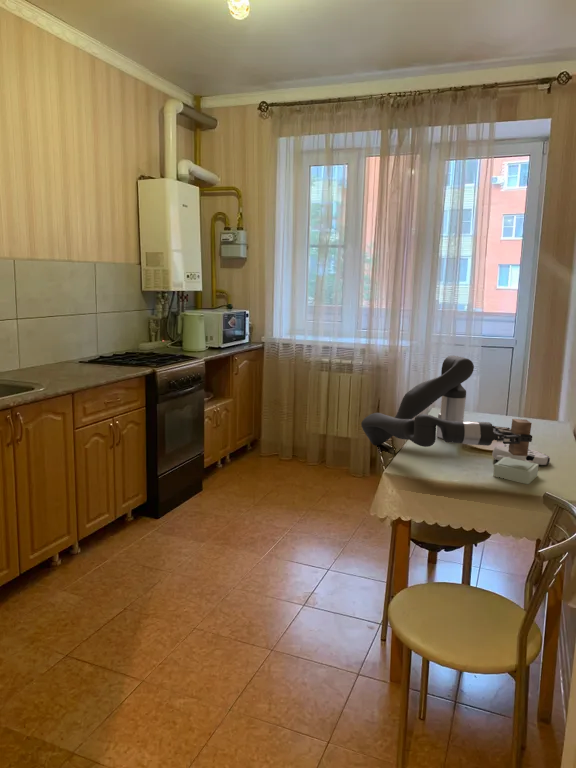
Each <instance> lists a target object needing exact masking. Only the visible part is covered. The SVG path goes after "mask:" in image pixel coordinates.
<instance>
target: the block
mask: <svg viewBox="0 0 576 768" xmlns="http://www.w3.org/2000/svg"><path fill="white" fill-rule="evenodd" d="M511 420H512V421H511V427H510V429H511V432H513V433H515V434H525V435H531V431H532V422H531V421H529V420H527V419H525V418H524V419H523V418H522V419H521V418H512V419H511ZM515 440H516V438H515ZM508 445H509V450H508V451H509V452H510V453H511V454H512V455H517V456H527V454H528V449H529V445H530V442H522V441H520V444H508Z"/></svg>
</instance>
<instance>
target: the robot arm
mask: <svg viewBox="0 0 576 768" xmlns="http://www.w3.org/2000/svg"><path fill="white" fill-rule="evenodd" d="M474 369H475V366H474V362H473V361H472V360H470V359H468V358H466V357H462V356H458V355H448V356H447V357H446V358H445V359H444V360H443V362H442V365H441V373H440V375H439V376H437V377H434V378H432V379H428V380H425V381H423V382H421V383H418V384H417V385H415V386H414V387H413V388H411V389H410V390H409V391H407V392H406V393H405V394H404V396H403V397H402V399H401V402H400V405H399V407H398V411H397V412H396V415H395V416H391V415H387V414H384V413H381V412H374V413H371V414H368V415H367V416H365V418H363V420H362V421H361V428H362V431H363V432H364V433H365V435H366V437H367V438H368V440H369V441H370V443H371V444H372V445H373V446H374V447H375V446H380V445H383V444H385V443H386V442H387V441H389V440H390V439H391V438H392V437H394V438H397V439H400V440H408V441H411V442H412V443H413V444H415V445H417V446H420V447H425V448H428V447H432V446H434V444H435V442H436V439H437V438H439V439H442V440H443V441H444V442H446V443H451V444H463V445H474V446H491V445H492V443H493V441H496V442H497V443H502V444H504V445H505V444H507V445H509V444H520V441H522V442H529V443H531V442H532V441H533V435H532V434H530V435H525V434H515V433H513V432H511V427H508V426H507V427H505V426H498V425H497V426H495V425H493V424H492V422H486V421H485V422H484V421H469V420H468V421H464V420H465V419H464V418H465V409H466V398H467V390H466V389H465V388H464V387H463V386H462V383H464V382H466V381H467V380H468V379H469V378H471V376H472V374H473V373H474V371H475V370H474ZM440 398H441V402H440V411H439V412H440V413H438V415H437V417H436V416H433V415H431V414H428V413H423V412H424V411H425V410H426V409H427V408H429V407H430V406H432V405H433V403H435V402H436V401H438V400H439V399H440ZM420 413H421V414H420ZM515 438H516V440H515Z"/></svg>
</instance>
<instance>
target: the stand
mask: <svg viewBox="0 0 576 768" xmlns="http://www.w3.org/2000/svg"><path fill="white" fill-rule="evenodd" d="M539 465H540V464H535V463H531V462H526V461H521V460H517V459H512V458H507V457H504V458H502V459H501V460H500V461H498V460H497V462H495V463H494V466H493V474H492V475H493V476H492V477H495V476H496V478H499V477H500V478H499V479H503V478H504V480H508V481H512V482H516V483H517V482H518V483H521V484H525V485H529V484H530V483H532V481H534V479H536V478H537V477H538V473H539V472H538V471H539Z"/></svg>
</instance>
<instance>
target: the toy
mask: <svg viewBox="0 0 576 768" xmlns="http://www.w3.org/2000/svg"><path fill="white" fill-rule="evenodd" d="M508 450H509V444H504V446H500V445H497V446H494V448H493V450H492V453H491V456H492V457H493V458H494V459H495V460H496V461H497V462H498V461H500V460H501V459H502V458H504V457H507V458H512V459H517V460H521V461H526V462H531V463H535V464H539V465H541V466H547V465H549V464H550V460H551V457H550V455H547V454H546V453H542V452H540V451H537V450H533V449H529V448H528V454H527V456H517V455H512V454H511V453H510V452H509V451H508Z"/></svg>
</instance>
